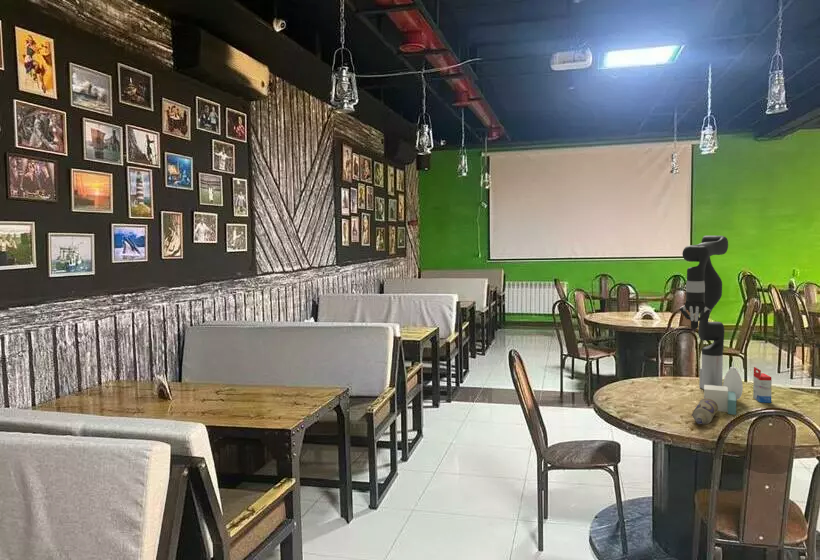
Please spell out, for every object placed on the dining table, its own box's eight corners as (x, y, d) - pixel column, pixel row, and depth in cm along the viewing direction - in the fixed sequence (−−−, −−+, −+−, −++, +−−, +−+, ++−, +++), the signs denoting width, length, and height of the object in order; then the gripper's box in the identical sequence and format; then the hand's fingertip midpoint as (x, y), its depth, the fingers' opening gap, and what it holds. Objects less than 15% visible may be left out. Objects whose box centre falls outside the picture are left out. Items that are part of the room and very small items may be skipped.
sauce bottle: (741, 399, 267) (742, 360, 266) (743, 403, 260) (743, 363, 259) (722, 398, 270) (722, 359, 269) (723, 402, 263) (723, 362, 262)
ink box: (771, 403, 260) (772, 370, 259) (759, 402, 261) (760, 370, 260) (764, 398, 269) (764, 366, 268) (752, 397, 270) (753, 366, 269)
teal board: (727, 413, 245) (728, 399, 244) (726, 404, 259) (727, 391, 259) (736, 414, 243) (736, 400, 243) (734, 405, 258) (734, 391, 257)
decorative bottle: (698, 412, 248) (698, 396, 248) (718, 415, 244) (718, 399, 244) (686, 427, 227) (686, 411, 227) (708, 431, 223) (708, 414, 223)
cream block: (703, 409, 252) (704, 389, 251) (704, 404, 260) (704, 384, 259) (727, 412, 248) (727, 391, 247) (727, 406, 256) (727, 386, 255)
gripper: (677, 291, 260) (676, 329, 262) (710, 292, 252) (709, 331, 254) (680, 289, 266) (680, 326, 268) (713, 290, 258) (712, 328, 260)
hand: (694, 329), depth 261 cm, fingers closed
